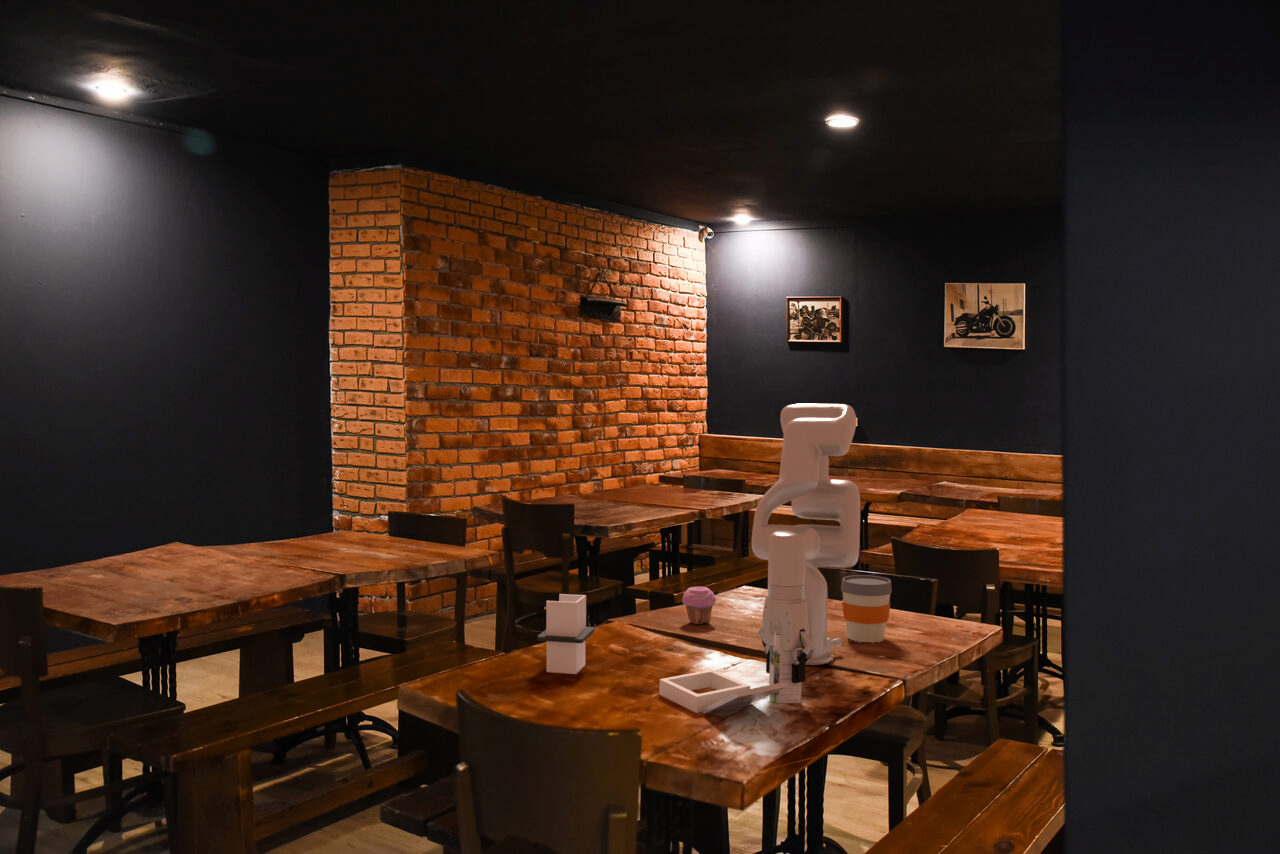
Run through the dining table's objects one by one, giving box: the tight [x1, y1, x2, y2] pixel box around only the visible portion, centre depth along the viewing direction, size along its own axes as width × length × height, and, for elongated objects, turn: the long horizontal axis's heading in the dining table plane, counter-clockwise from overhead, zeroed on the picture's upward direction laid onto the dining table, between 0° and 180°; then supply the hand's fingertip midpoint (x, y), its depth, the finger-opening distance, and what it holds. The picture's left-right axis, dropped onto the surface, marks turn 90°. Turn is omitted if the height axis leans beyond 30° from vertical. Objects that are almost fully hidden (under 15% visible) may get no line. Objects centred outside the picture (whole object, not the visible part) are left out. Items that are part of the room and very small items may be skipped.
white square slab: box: [702, 682, 788, 715], centre depth 199 cm, size 13×12×1 cm
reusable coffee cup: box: [840, 574, 893, 644], centre depth 259 cm, size 13×13×15 cm
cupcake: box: [681, 586, 717, 625], centre depth 275 cm, size 9×9×10 cm
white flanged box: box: [537, 593, 595, 675], centre depth 232 cm, size 25×24×16 cm
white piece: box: [659, 669, 751, 714], centre depth 211 cm, size 13×13×4 cm
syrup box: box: [768, 633, 803, 704], centre depth 210 cm, size 6×6×14 cm
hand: (785, 676), depth 210 cm, fingers closed on syrup box, 7 cm apart
